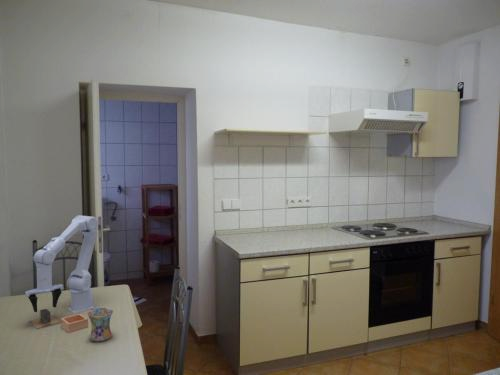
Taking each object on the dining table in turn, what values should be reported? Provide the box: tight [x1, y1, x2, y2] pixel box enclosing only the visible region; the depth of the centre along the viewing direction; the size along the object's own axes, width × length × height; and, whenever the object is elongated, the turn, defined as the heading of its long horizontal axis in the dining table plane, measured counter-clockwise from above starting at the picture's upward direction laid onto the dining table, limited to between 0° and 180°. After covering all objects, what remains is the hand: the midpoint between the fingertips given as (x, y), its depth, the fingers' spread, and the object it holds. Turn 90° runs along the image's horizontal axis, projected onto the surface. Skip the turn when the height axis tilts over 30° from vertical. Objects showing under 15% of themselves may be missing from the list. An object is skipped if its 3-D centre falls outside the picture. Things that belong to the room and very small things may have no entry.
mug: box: [87, 307, 114, 342], centre depth 159 cm, size 12×9×11 cm
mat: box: [27, 321, 61, 331], centre depth 171 cm, size 11×11×1 cm
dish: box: [60, 313, 89, 334], centre depth 167 cm, size 8×8×4 cm
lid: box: [28, 308, 61, 330], centre depth 171 cm, size 10×10×5 cm
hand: (45, 309), depth 171 cm, fingers open, 7 cm apart
